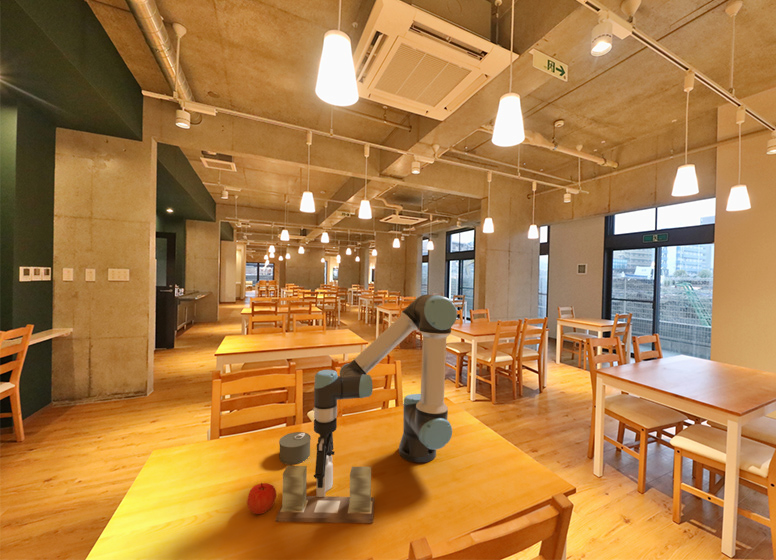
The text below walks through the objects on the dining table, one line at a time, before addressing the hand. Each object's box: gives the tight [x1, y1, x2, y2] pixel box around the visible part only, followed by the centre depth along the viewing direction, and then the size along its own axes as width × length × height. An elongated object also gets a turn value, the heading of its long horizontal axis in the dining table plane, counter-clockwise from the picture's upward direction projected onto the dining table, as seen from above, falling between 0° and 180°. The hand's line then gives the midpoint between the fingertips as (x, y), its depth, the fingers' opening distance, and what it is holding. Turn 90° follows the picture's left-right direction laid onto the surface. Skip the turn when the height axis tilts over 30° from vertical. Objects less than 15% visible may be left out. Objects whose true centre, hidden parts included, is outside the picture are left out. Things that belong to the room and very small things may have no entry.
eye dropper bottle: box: [315, 455, 334, 493], centre depth 103 cm, size 4×6×12 cm
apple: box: [246, 482, 277, 515], centre depth 93 cm, size 8×8×8 cm
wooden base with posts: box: [275, 465, 375, 524], centre depth 93 cm, size 28×9×12 cm, turn 89°
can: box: [278, 431, 312, 466], centre depth 122 cm, size 12×12×7 cm
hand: (324, 484), depth 103 cm, fingers open, 10 cm apart
